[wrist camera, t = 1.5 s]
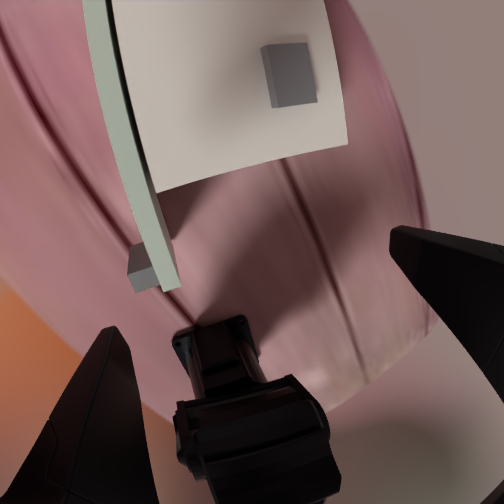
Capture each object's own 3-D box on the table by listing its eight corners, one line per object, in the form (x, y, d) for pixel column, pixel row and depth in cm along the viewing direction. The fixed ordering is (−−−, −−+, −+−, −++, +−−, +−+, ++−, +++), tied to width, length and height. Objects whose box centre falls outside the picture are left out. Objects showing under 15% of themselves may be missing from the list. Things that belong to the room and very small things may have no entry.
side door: (172, 244, 19) (181, 286, 15) (136, 257, 19) (135, 301, 15) (108, -23, 10) (98, -62, 6) (68, -9, 10) (47, -42, 5)
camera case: (301, 134, 19) (357, 146, 14) (154, 171, 17) (156, 198, 12) (260, -56, 12) (300, -98, 6) (111, -37, 10) (102, -87, 4)
